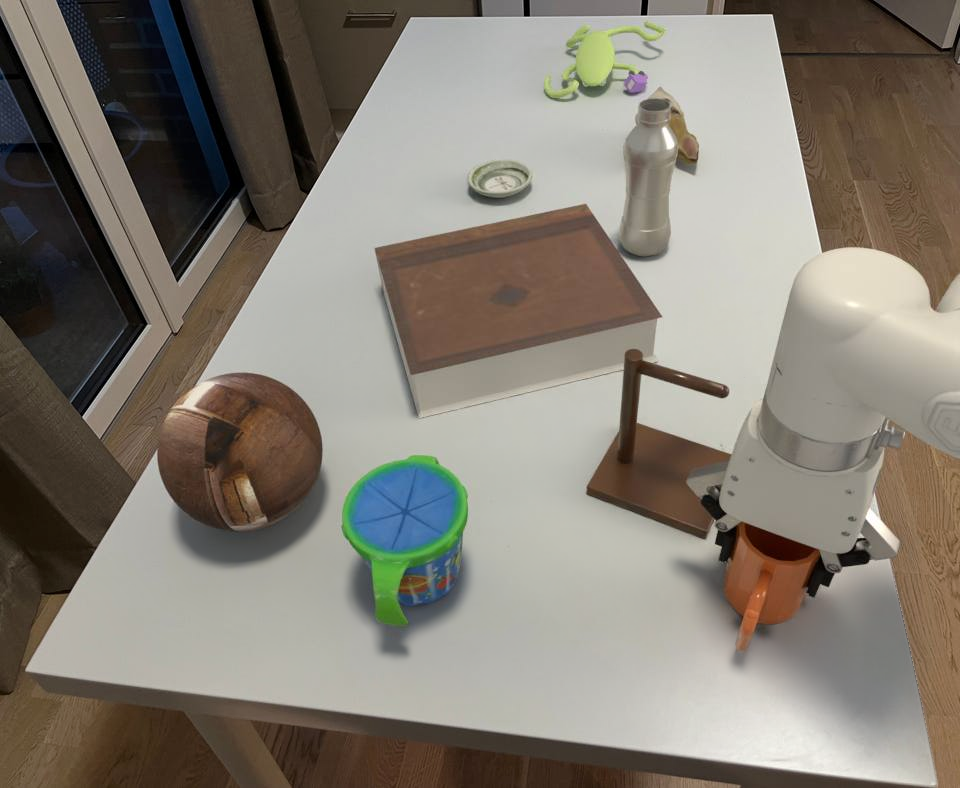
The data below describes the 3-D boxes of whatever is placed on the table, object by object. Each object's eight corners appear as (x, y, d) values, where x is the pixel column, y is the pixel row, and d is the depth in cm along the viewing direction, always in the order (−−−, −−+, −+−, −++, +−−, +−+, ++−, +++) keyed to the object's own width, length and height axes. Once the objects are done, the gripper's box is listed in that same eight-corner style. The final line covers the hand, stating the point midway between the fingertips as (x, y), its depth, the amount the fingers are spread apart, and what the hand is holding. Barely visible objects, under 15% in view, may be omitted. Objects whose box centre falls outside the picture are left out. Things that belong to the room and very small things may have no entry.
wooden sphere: (223, 439, 87) (175, 336, 77) (353, 449, 85) (323, 343, 74) (163, 555, 77) (99, 454, 66) (310, 569, 74) (268, 467, 64)
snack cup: (396, 495, 80) (380, 427, 73) (497, 515, 77) (490, 447, 70) (333, 634, 70) (306, 571, 62) (447, 663, 67) (432, 600, 60)
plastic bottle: (669, 263, 104) (685, 117, 89) (616, 262, 105) (624, 117, 91) (668, 235, 108) (684, 92, 94) (618, 234, 109) (626, 92, 95)
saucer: (455, 190, 120) (454, 175, 119) (503, 166, 124) (502, 152, 123) (497, 214, 115) (496, 199, 113) (546, 188, 119) (545, 173, 117)
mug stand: (737, 464, 79) (764, 351, 69) (705, 539, 74) (729, 428, 63) (625, 426, 84) (633, 315, 73) (586, 493, 78) (589, 383, 68)
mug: (735, 548, 73) (752, 487, 66) (809, 576, 70) (833, 515, 64) (697, 646, 66) (710, 589, 60) (776, 680, 64) (799, 624, 57)
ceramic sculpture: (696, 75, 122) (706, 126, 112) (690, 126, 128) (699, 179, 119) (625, 78, 123) (629, 129, 113) (623, 129, 130) (626, 181, 120)
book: (382, 289, 104) (374, 247, 100) (585, 245, 108) (586, 203, 103) (418, 418, 87) (410, 375, 83) (657, 361, 91) (662, 317, 86)
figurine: (667, 45, 152) (670, 14, 148) (643, 108, 135) (645, 75, 131) (573, 40, 157) (573, 11, 153) (538, 100, 140) (537, 68, 136)
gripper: (966, 424, 53) (888, 571, 65) (710, 351, 60) (684, 497, 72) (950, 506, 48) (870, 647, 61) (675, 417, 55) (655, 560, 68)
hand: (770, 564), depth 66 cm, fingers closed on mug, 6 cm apart
